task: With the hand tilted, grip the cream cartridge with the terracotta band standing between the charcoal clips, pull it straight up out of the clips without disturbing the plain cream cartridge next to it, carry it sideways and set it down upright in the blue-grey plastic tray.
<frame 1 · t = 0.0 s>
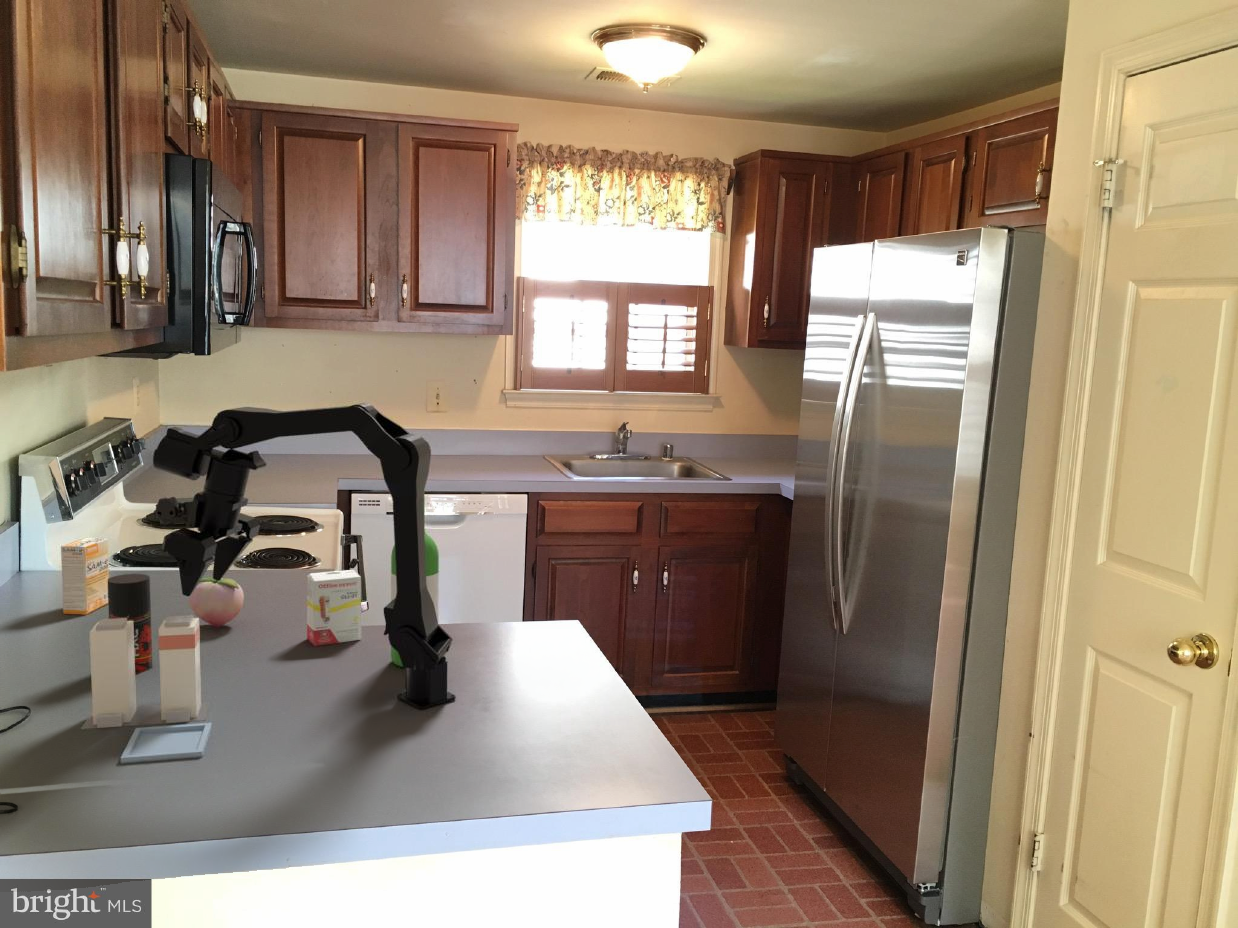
hand: (201, 587, 147), 15 cm above the counter, tool pointing down, fingers open, 9 cm apart
supplement box: (87, 609, 186), on the counter
deodorant: (131, 671, 154), on the counter
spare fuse: (115, 716, 135), resting on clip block
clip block: (181, 715, 137), on the counter
tray: (168, 748, 127), on the counter
wine bottle: (414, 662, 163), on the counter
decorative fruit: (218, 627, 178), on the counter
ink box: (334, 640, 173), on the counter
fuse: (181, 712, 137), resting on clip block
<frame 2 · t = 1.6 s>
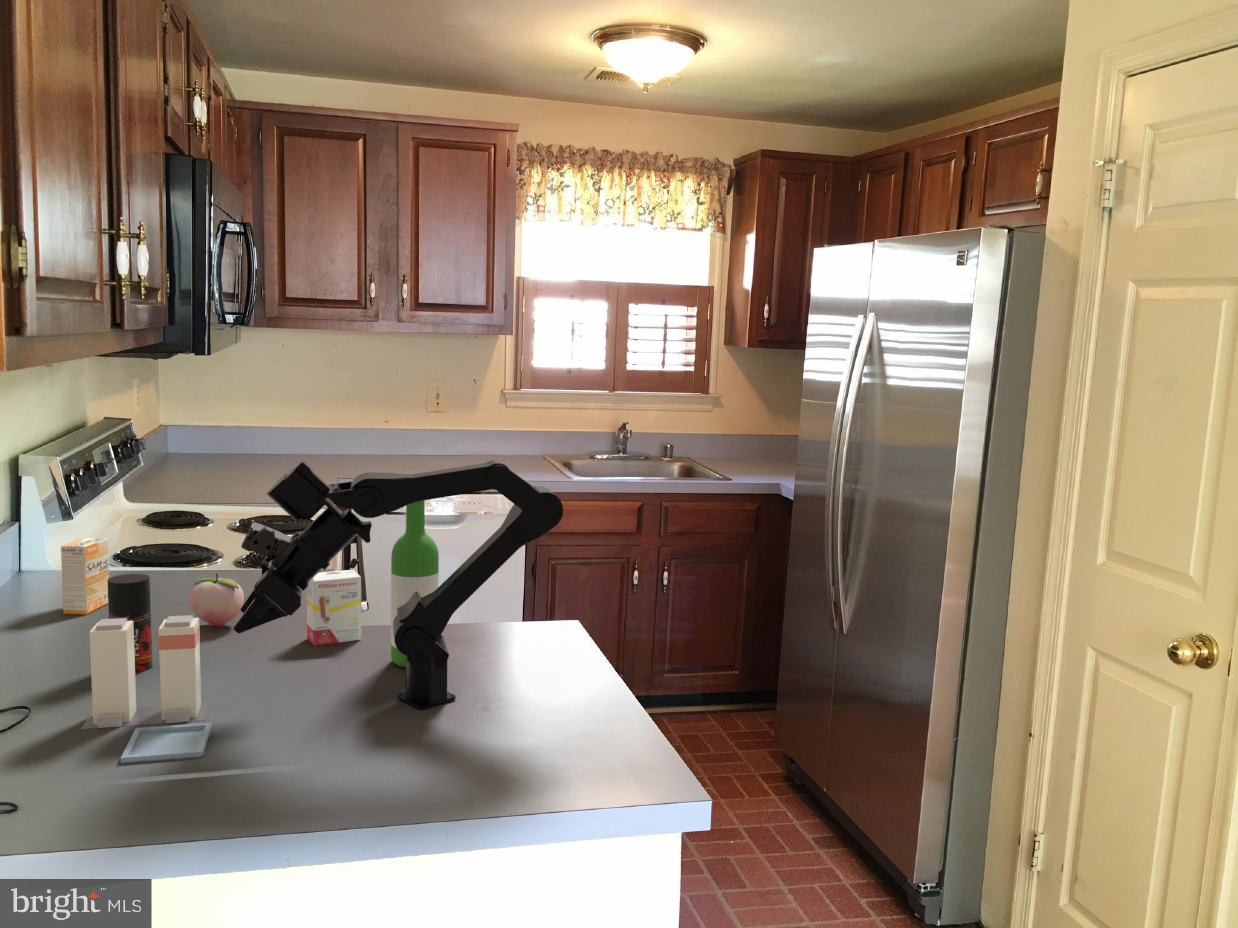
hand: (239, 621, 138), 13 cm above the counter, tool tilted 45°, fingers open, 9 cm apart
nothing on the counter moved.
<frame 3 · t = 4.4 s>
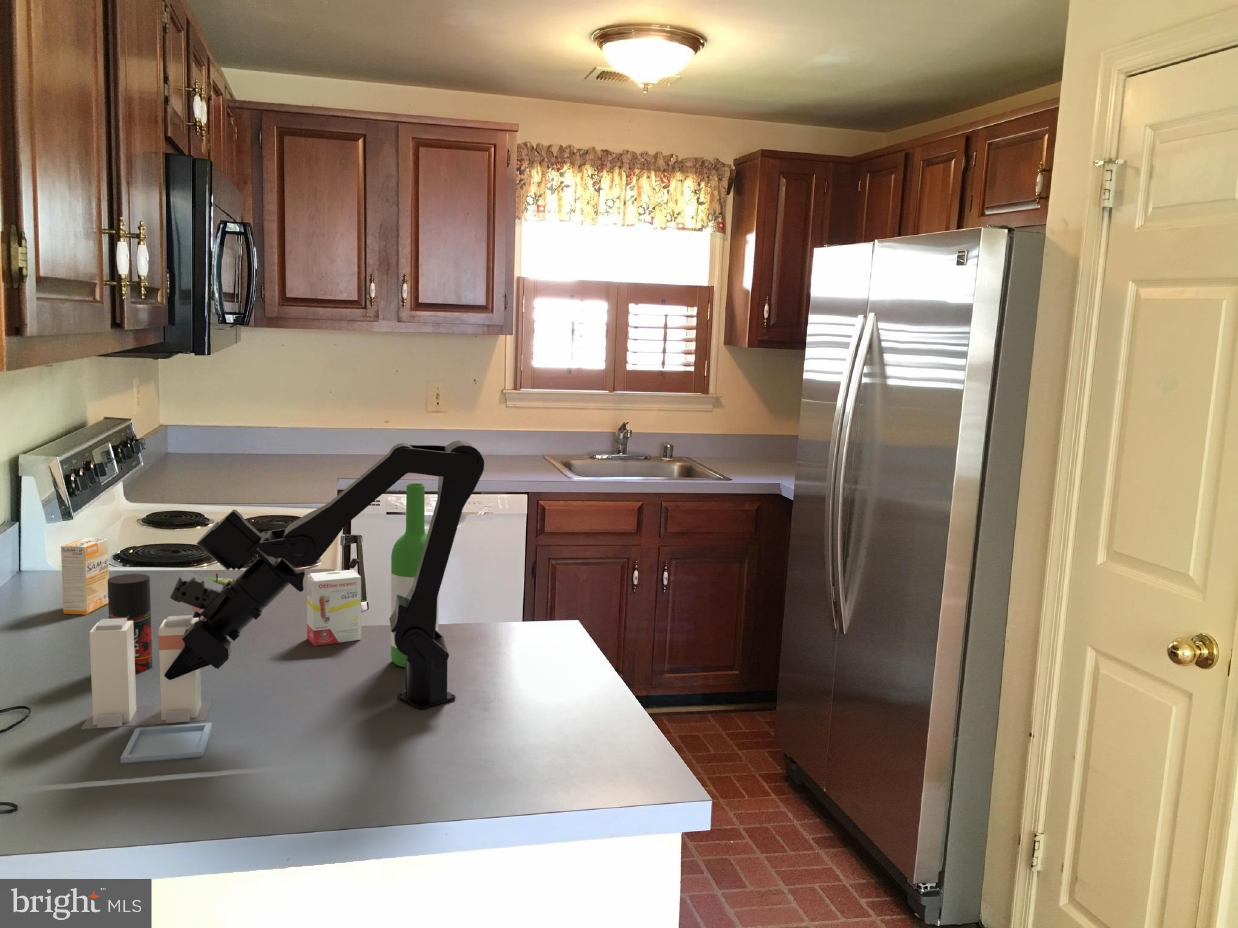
hand: (169, 671, 136), 7 cm above the counter, tool tilted 45°, fingers closed on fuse, 4 cm apart
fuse: (181, 712, 137), point 1 cm above the counter, touching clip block, gripper
everything else where it was.
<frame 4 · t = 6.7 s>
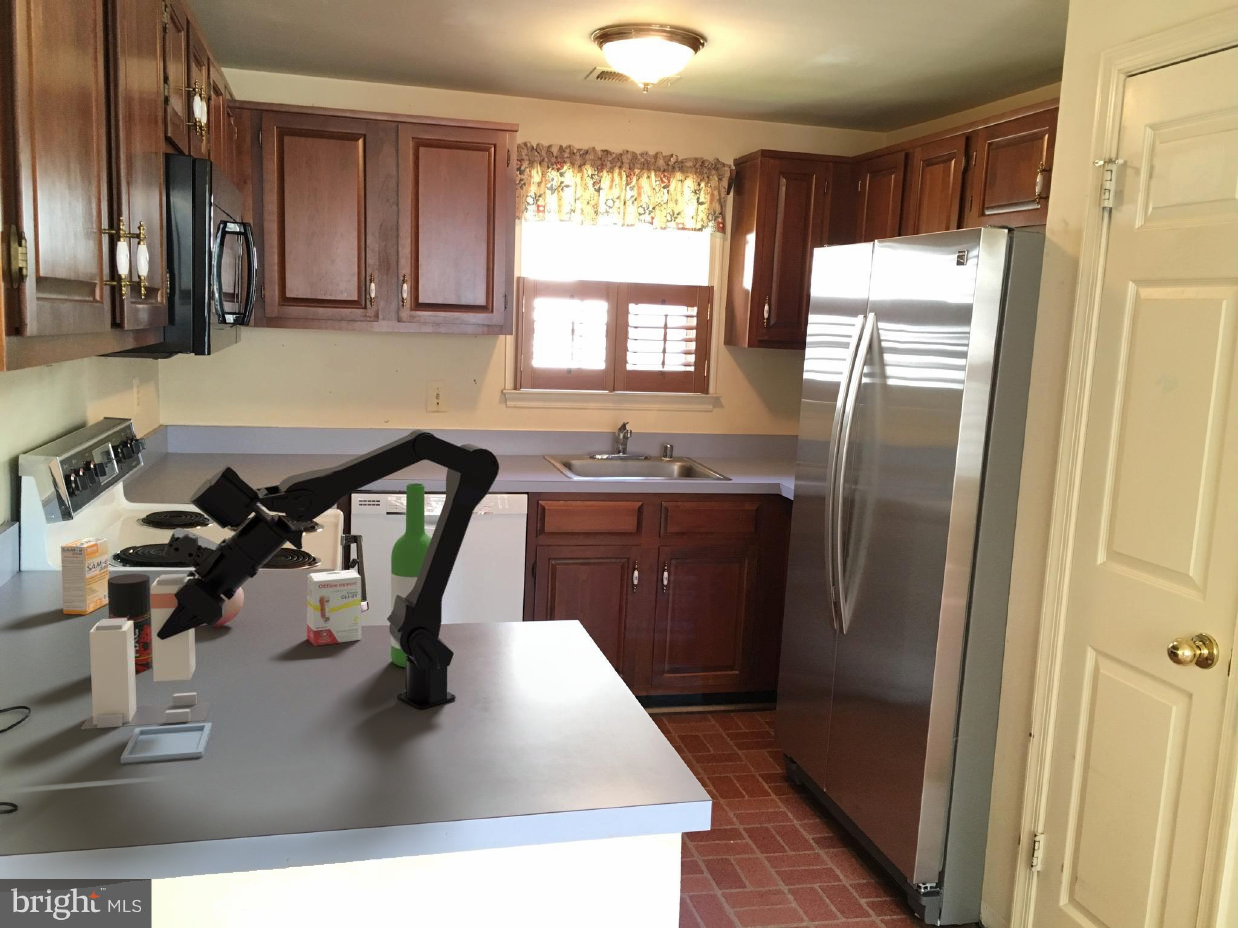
hand: (162, 631, 131), 14 cm above the counter, tool tilted 45°, fingers closed on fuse, 4 cm apart
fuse: (174, 674, 132), point 8 cm above the counter, touching gripper
everything else where it was.
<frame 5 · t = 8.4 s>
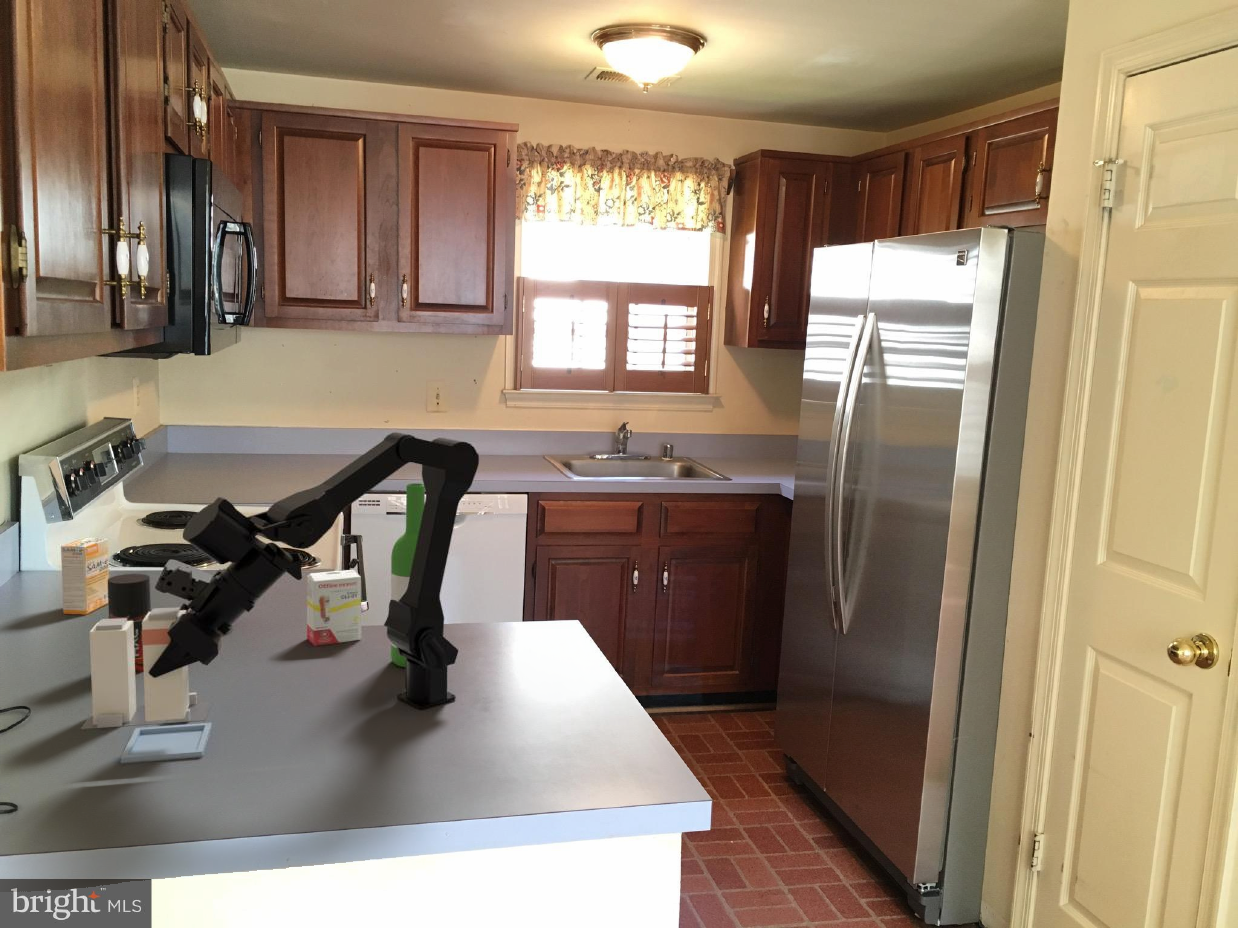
hand: (154, 668, 125), 11 cm above the counter, tool tilted 45°, fingers closed on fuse, 4 cm apart
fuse: (167, 712, 126), point 5 cm above the counter, touching gripper
everything else where it was.
when the fingers open (8 cm above the counter, at t = 9.3 s): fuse drops 1 cm, resting on tray.
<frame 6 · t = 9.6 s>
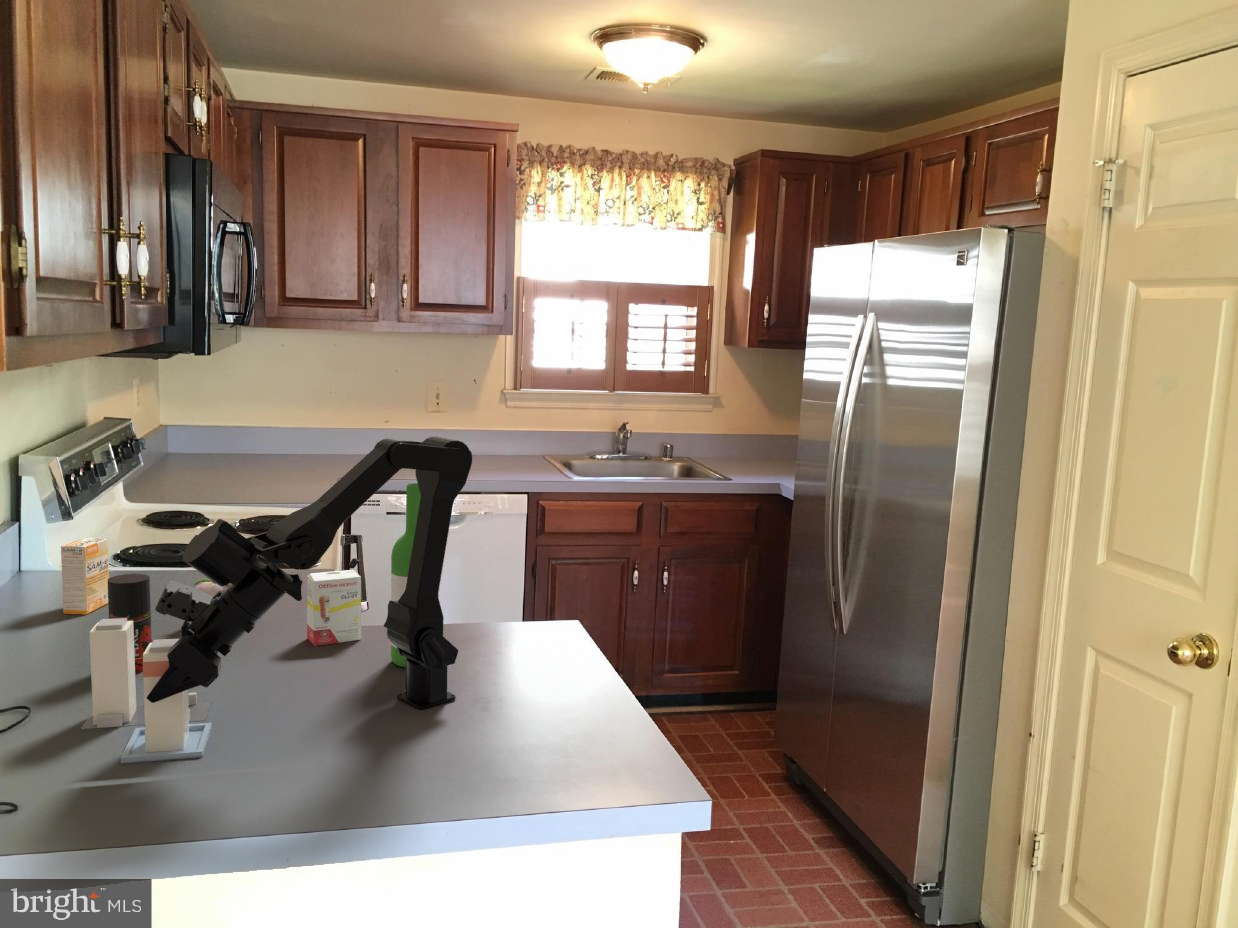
hand: (154, 689, 125), 8 cm above the counter, tool tilted 45°, fingers open, 7 cm apart
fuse: (167, 743, 127), point 1 cm above the counter, touching tray
everything else where it was.
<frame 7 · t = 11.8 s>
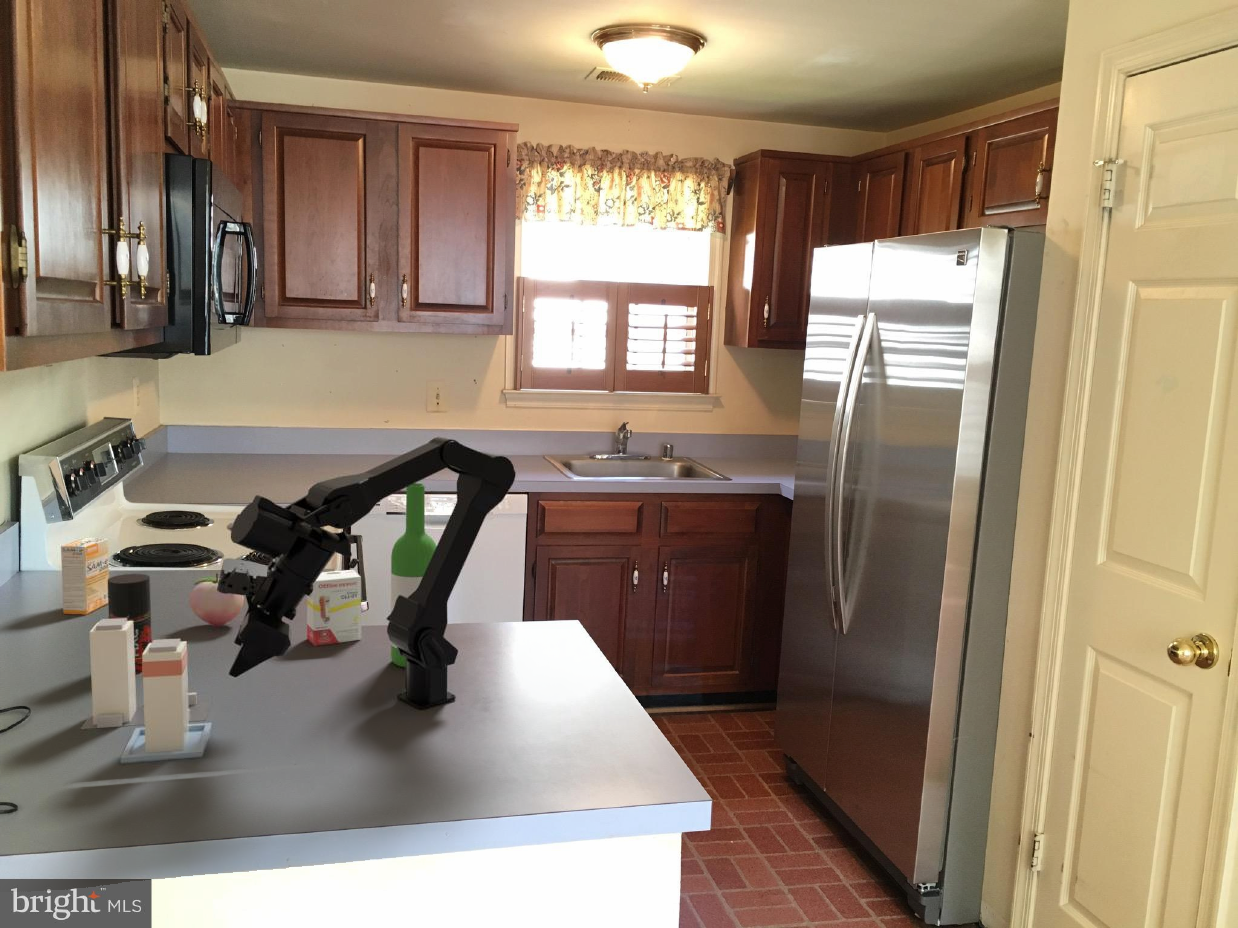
hand: (234, 659, 133), 10 cm above the counter, tool tilted 35°, fingers open, 9 cm apart
nothing on the counter moved.
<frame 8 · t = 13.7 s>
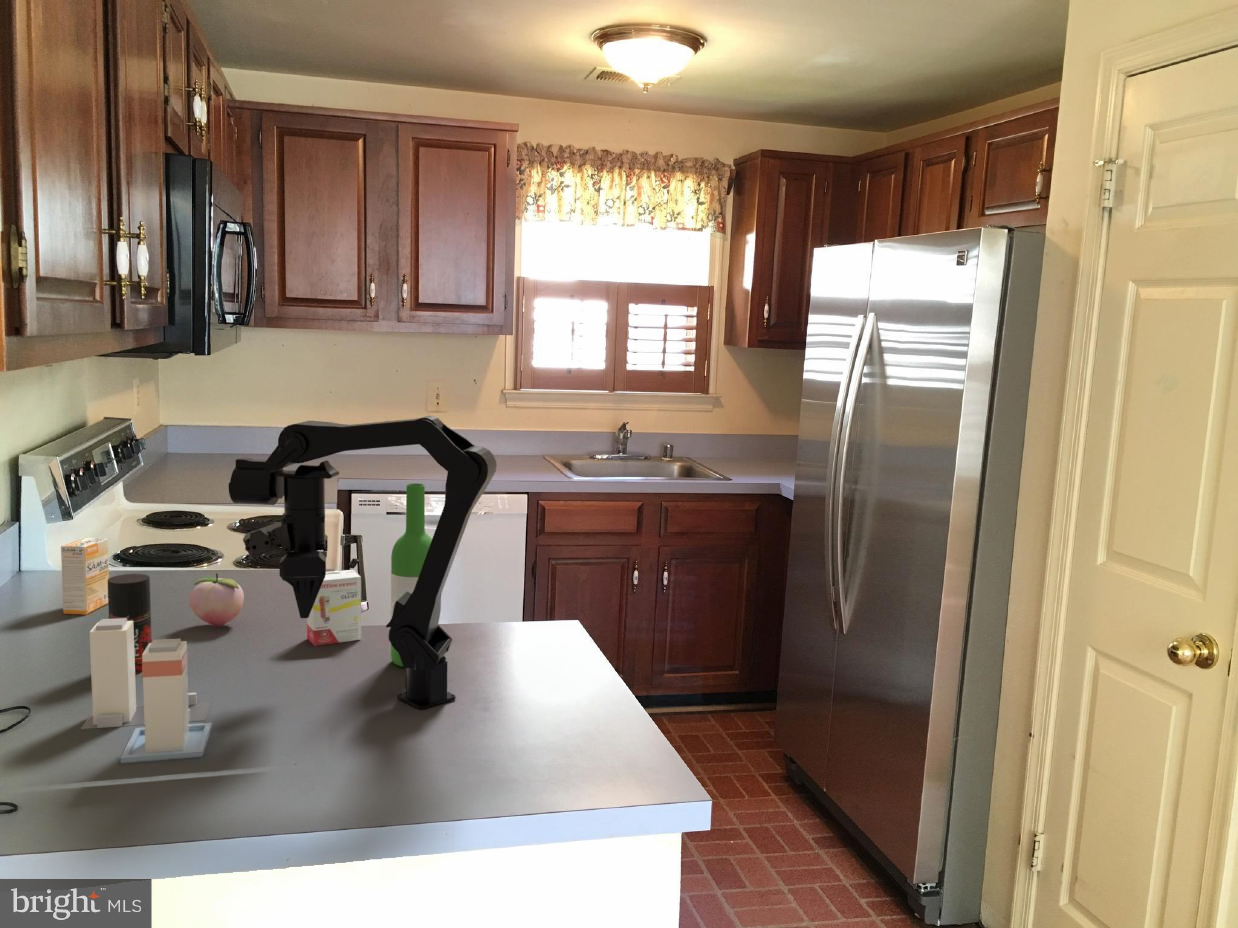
hand: (305, 608, 146), 13 cm above the counter, tool pointing down, fingers open, 9 cm apart
nothing on the counter moved.
at the end: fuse inside the target area on the tray (0.1 cm from its centre), point 0.6 cm above the tray's base; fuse tilted 0°; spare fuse moved 0.0 cm from its start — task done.
